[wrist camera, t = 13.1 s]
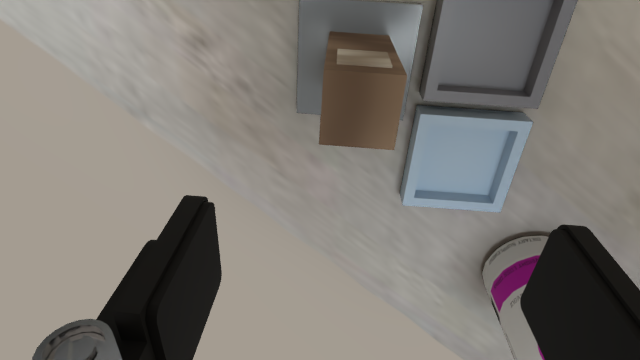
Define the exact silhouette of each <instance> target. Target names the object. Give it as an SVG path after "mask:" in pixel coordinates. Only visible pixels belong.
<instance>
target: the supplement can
mask: <svg viewBox="0 0 640 360" xmlns="http://www.w3.org/2000/svg"><path fill="white" fill-rule="evenodd" d="M548 238H549V237H546V236H527V237H520V238H517V239H514V240H512V241H509V242H507V243H505V244H504V245H502V246H501V247H499V248H498V249H497V250H496V251H495V252H494V253H493V254H492V255H491V256H490V258H489V259H488V260H487V261H486V263H485V266H484V269H483V272H482V276H483V281H484V285H485V287H486V290H487V292H488V295H489V297H490V300H491V302H492V305H493V307H494V310H495V312H496V315H497V317H498V320H499V322H500V325H501V327H502V330H503V332H504V335H505V337H506V340H507V342H508V345H509V347H510V350H511V352H512V355H513V357H514V360H545V359H544V357H543V355H542V352H541V350H540V348H539V346H538V344H537V342H536V340H535V337H534V335H533V333H532V331H531V329H530V327H529V325H528V323H527V320H526V318H525V316H524V314H523V312H522V309H521V305H520V299H521V296H522V293H523V291H524V289H525V287H526V285H527V283H528V281H529V278H530V276H531V274H532V272H533V270H534V268H535V266H536V263H537V261H538V259H539V257H540V255H541V253H542V251H543V248H544V246H545V244H546V242H547V240H548Z"/></svg>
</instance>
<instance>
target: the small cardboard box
mask: <svg viewBox="0 0 640 360" xmlns="http://www.w3.org/2000/svg"><path fill="white" fill-rule="evenodd" d="M406 79H407V74H406V72H405V70H404V67H403V65H402V63H401V61H400V59H399V56H398V54H397V52H396V50H395V47H394V45H393V43H392V41H391V39H390V36H389V35H375V34H361V33H347V32H333V31H330V33H329V39H328V45H327V52H326V58H325V64H324V72H323V88H322V105H321V121H320V137H319V144H321V145H334V146H348V147H361V148H374V149H387V150H394V148H395V142H396V136H397V131H398V125H399V119H400V114H401V108H402V102H403V97H404V91H405V85H406Z"/></svg>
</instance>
